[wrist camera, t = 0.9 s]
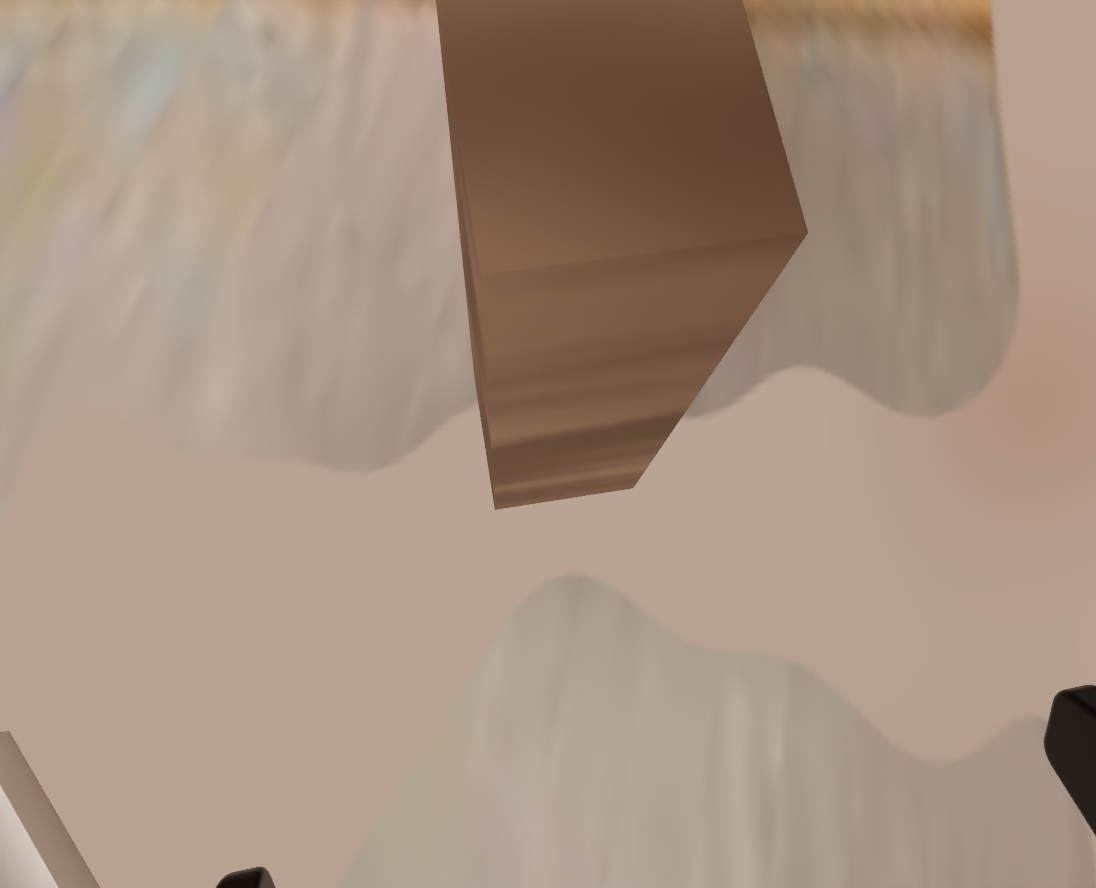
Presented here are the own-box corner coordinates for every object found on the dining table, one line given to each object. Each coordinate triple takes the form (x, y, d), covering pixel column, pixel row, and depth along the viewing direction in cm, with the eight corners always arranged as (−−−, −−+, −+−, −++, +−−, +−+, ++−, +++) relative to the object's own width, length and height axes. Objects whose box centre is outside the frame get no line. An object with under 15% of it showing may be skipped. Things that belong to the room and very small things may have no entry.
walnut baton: (633, 488, 23) (807, 232, 10) (494, 509, 23) (481, 274, 9) (607, 359, 24) (733, -30, 11) (474, 378, 24) (436, -2, 11)
